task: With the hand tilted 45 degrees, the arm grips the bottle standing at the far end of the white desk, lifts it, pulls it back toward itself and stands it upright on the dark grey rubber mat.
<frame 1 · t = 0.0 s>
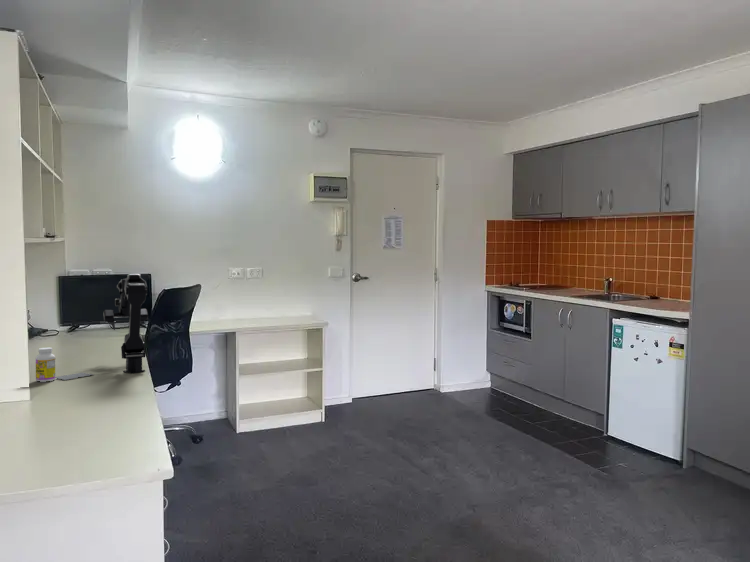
hand: (124, 329, 265), 15 cm above the table, tool tilted 35°, fingers open, 9 cm apart
mat: (73, 376, 227), on the table
supplement bottle: (45, 381, 219), on the table
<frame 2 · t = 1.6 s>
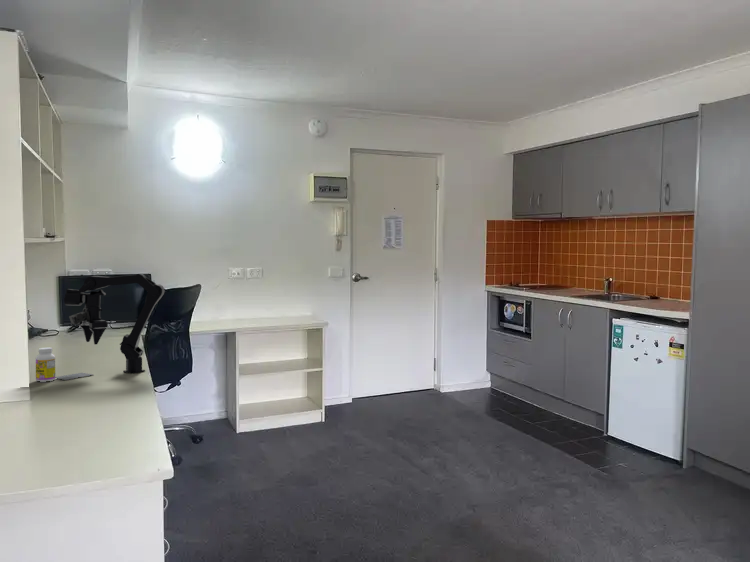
hand: (91, 343, 234), 13 cm above the table, tool pointing down, fingers open, 9 cm apart
nothing on the table moved.
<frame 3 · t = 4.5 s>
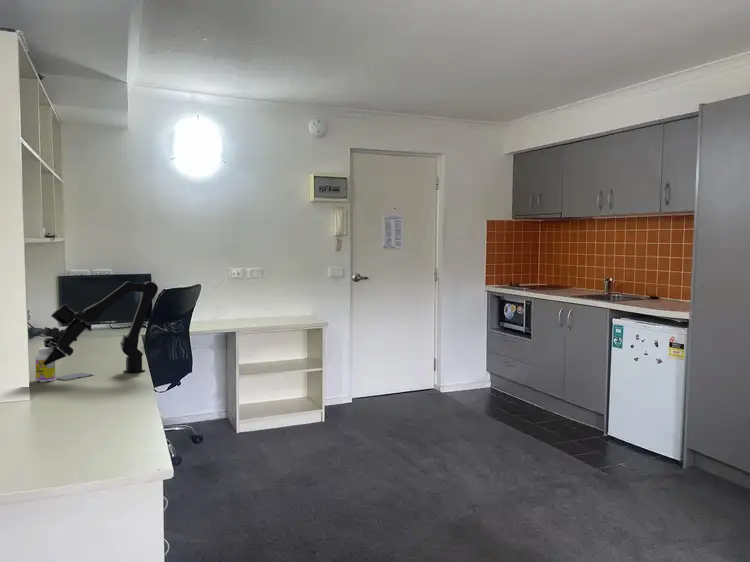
hand: (41, 363, 218), 7 cm above the table, tool tilted 45°, fingers closed on supplement bottle, 7 cm apart
supplement bottle: (45, 381, 219), on the table, touching gripper
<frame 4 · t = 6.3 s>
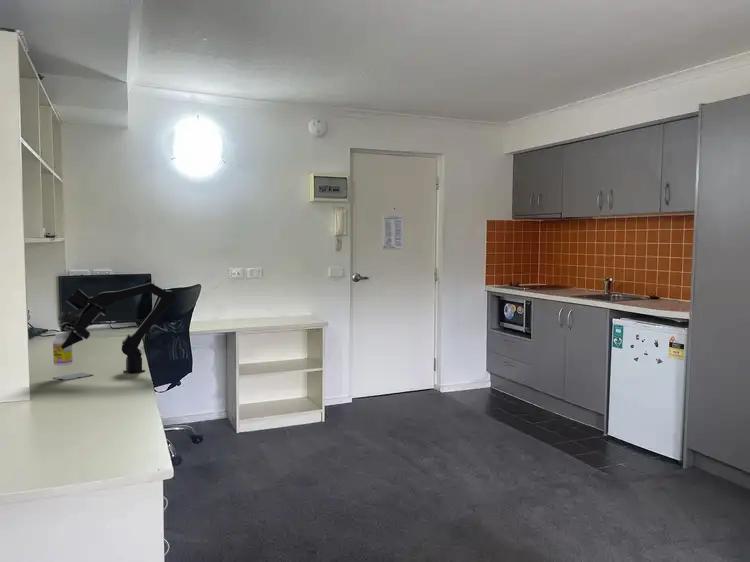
hand: (58, 347, 222), 13 cm above the table, tool tilted 45°, fingers closed on supplement bottle, 7 cm apart
supplement bottle: (63, 364, 223), point 5 cm above the table, touching gripper
when the fingers open (8 cm above the table, at t = 8.0 s): supplement bottle stays where it is, resting on mat.
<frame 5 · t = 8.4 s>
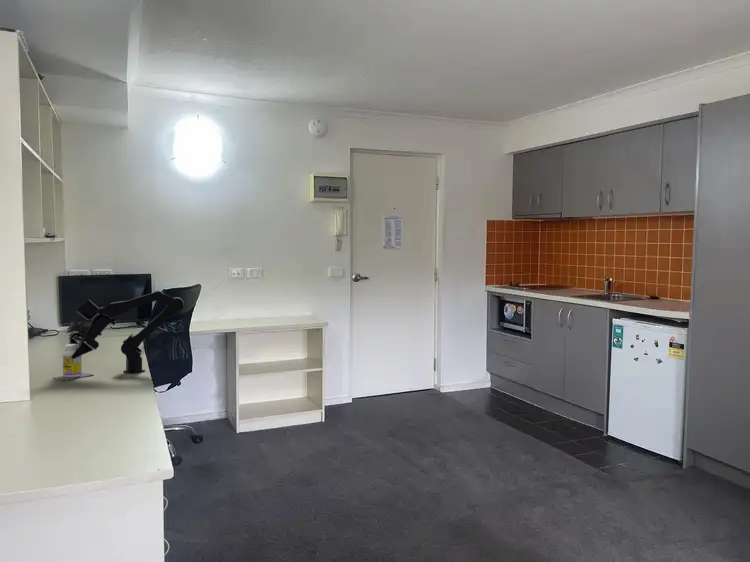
hand: (68, 356, 225), 9 cm above the table, tool tilted 45°, fingers open, 9 cm apart
supplement bottle: (72, 376, 226), resting on mat
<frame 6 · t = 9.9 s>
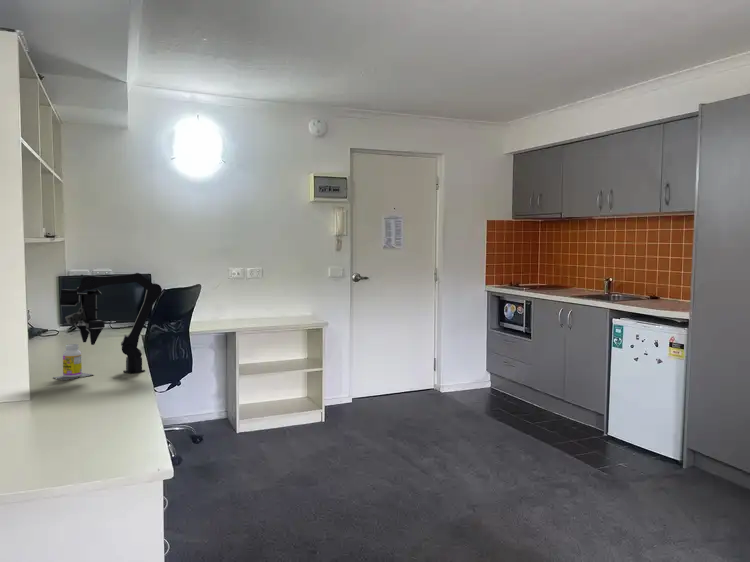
hand: (88, 343, 230), 13 cm above the table, tool pointing down, fingers open, 9 cm apart
nothing on the table moved.
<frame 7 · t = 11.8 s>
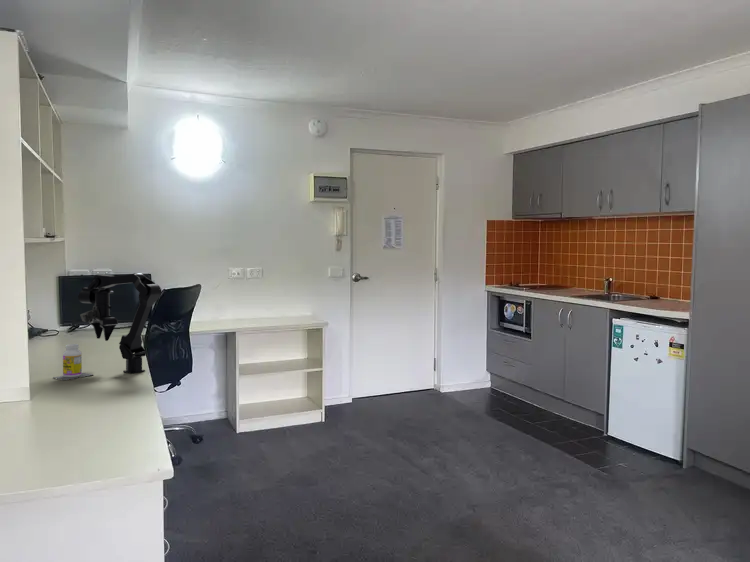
hand: (102, 339, 242), 13 cm above the table, tool pointing down, fingers open, 9 cm apart
nothing on the table moved.
at the end: supplement bottle inside the target area on the mat (0.5 cm from its centre), point 0.2 cm above the mat's base; supplement bottle tilted 0°; the gripper is holding nothing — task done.
